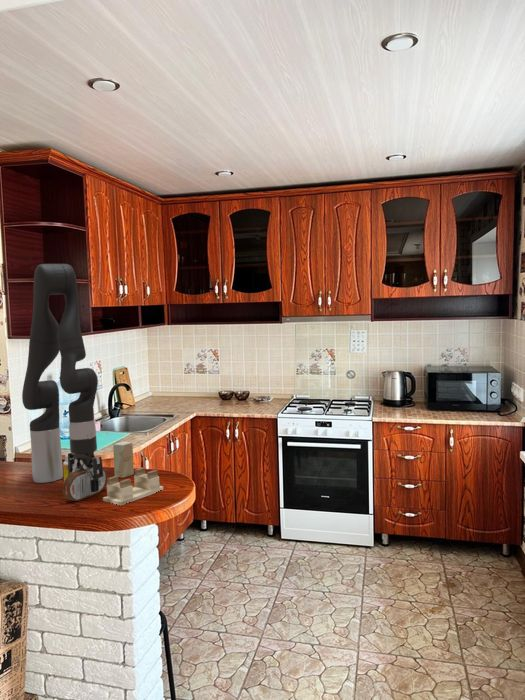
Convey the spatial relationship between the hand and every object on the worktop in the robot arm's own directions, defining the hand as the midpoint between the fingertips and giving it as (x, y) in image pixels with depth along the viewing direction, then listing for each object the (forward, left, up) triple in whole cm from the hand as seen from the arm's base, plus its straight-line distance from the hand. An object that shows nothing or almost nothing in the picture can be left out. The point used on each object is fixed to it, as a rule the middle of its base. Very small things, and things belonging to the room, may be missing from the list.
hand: (86, 489), depth 158 cm
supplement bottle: (-13, +4, -2) cm, 14 cm away
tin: (0, 0, -3) cm, 3 cm away
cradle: (+12, +8, -2) cm, 15 cm away
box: (-8, +20, -2) cm, 22 cm away
